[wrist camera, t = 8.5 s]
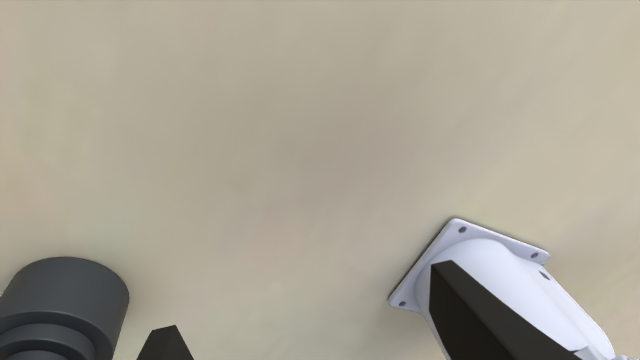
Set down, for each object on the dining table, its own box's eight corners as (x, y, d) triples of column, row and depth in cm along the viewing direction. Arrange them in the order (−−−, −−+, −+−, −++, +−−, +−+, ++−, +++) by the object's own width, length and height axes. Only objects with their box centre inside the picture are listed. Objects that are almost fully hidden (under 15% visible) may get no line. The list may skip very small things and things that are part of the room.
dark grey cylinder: (141, 270, 22) (110, 378, 16) (115, 337, 24) (81, 450, 19) (18, 245, 20) (-65, 361, 14) (3, 321, 22) (-73, 446, 17)
